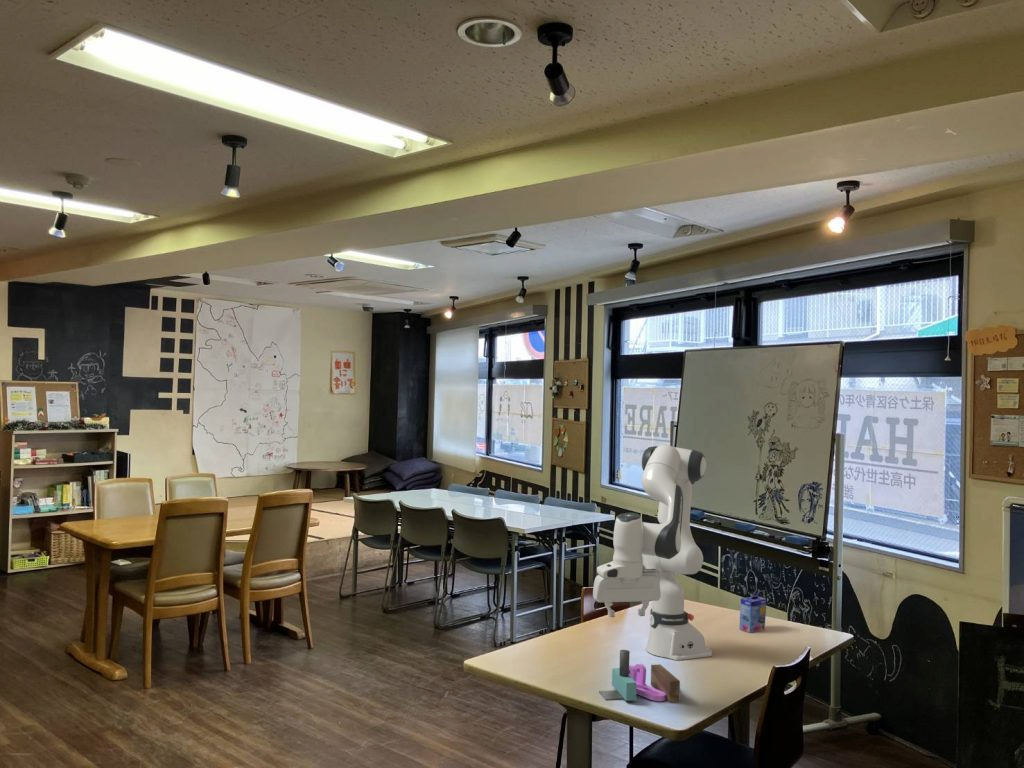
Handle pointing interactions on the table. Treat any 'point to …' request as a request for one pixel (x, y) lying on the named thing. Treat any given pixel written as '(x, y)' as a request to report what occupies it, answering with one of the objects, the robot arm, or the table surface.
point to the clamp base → (654, 685)
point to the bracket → (641, 688)
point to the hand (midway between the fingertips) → (626, 616)
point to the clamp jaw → (624, 678)
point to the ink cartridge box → (752, 613)
